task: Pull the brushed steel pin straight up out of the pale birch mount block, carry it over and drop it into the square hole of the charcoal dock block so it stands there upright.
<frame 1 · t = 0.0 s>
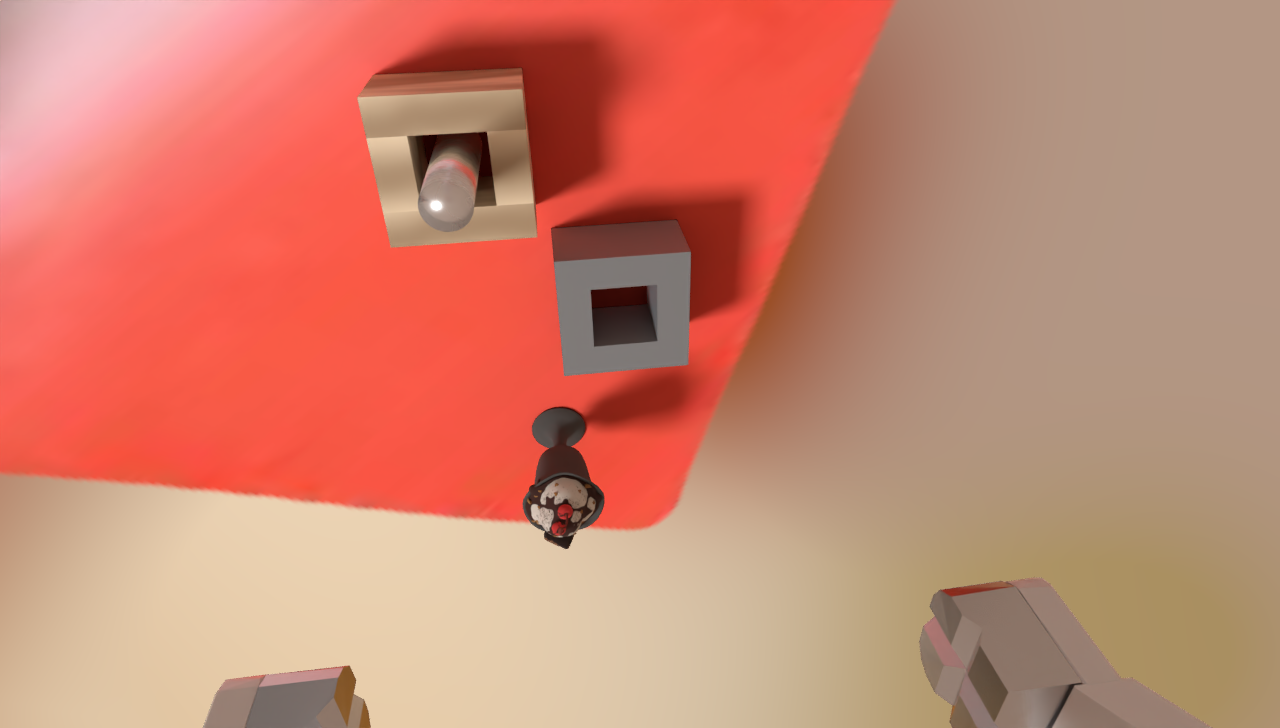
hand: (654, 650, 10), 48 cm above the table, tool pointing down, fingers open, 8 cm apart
mount block: (459, 143, 53), on the table
sundae: (558, 426, 69), on the table
dock block: (616, 280, 61), on the table
pin: (453, 172, 48), in the mount block
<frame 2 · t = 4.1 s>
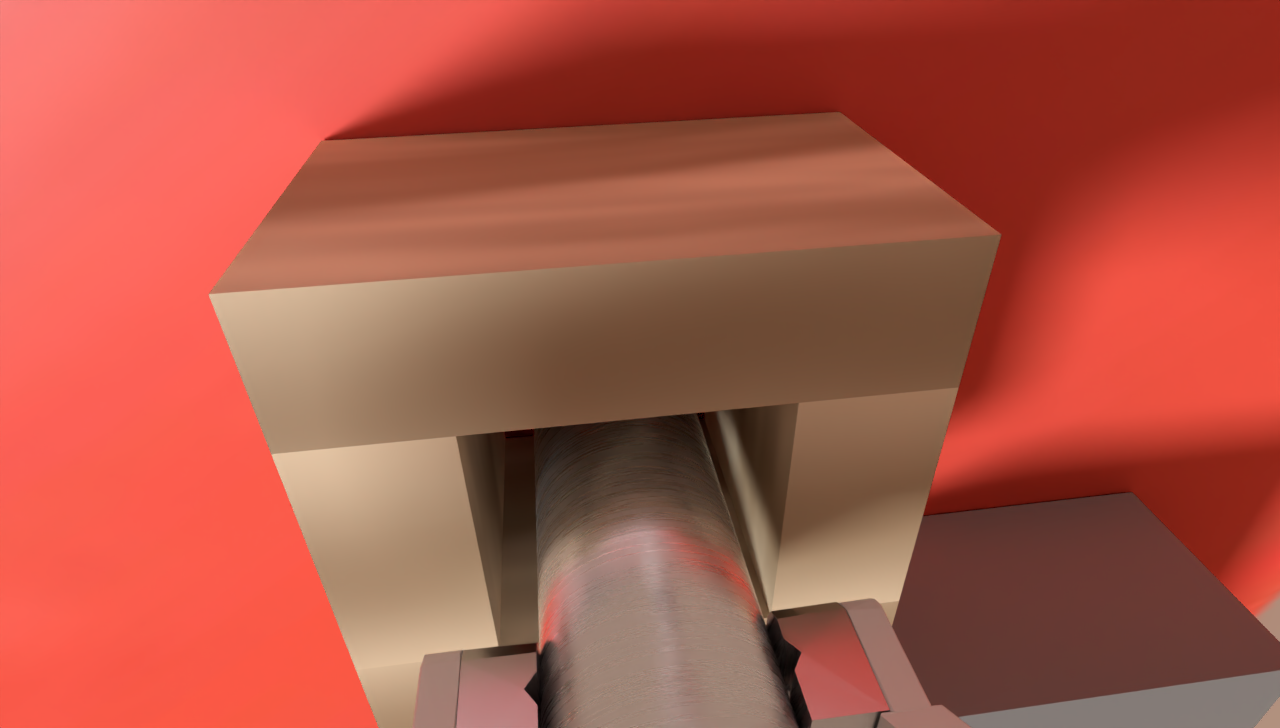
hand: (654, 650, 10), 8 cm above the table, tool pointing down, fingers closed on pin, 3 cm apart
mount block: (601, 344, 17), on the table
dock block: (942, 615, 25), on the table
pin: (634, 539, 12), in the mount block, touching gripper
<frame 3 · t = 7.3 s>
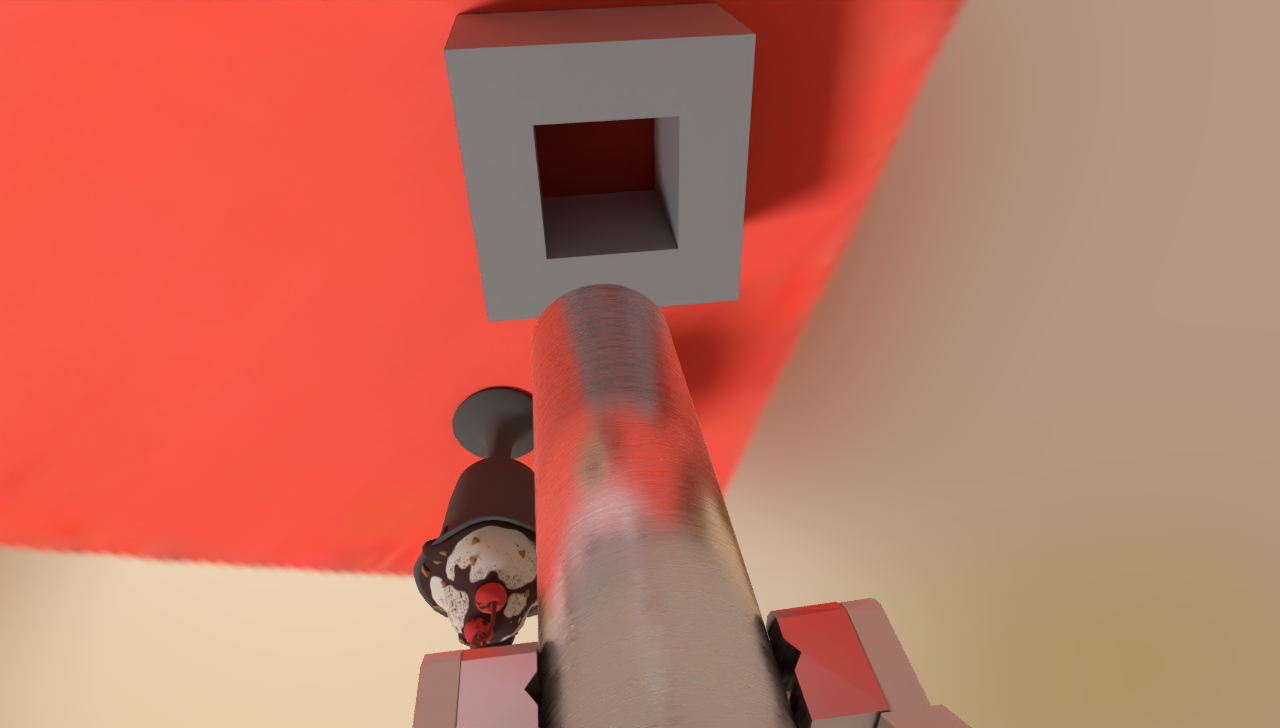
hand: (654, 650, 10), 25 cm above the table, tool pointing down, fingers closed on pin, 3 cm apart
sundae: (499, 421, 39), on the table
dock block: (595, 137, 31), on the table
pin: (634, 540, 12), point 23 cm above the table, touching gripper
when the fingers open (10 cm above the table, at t = 10.9 s): pin drops 2 cm, resting in dock block.
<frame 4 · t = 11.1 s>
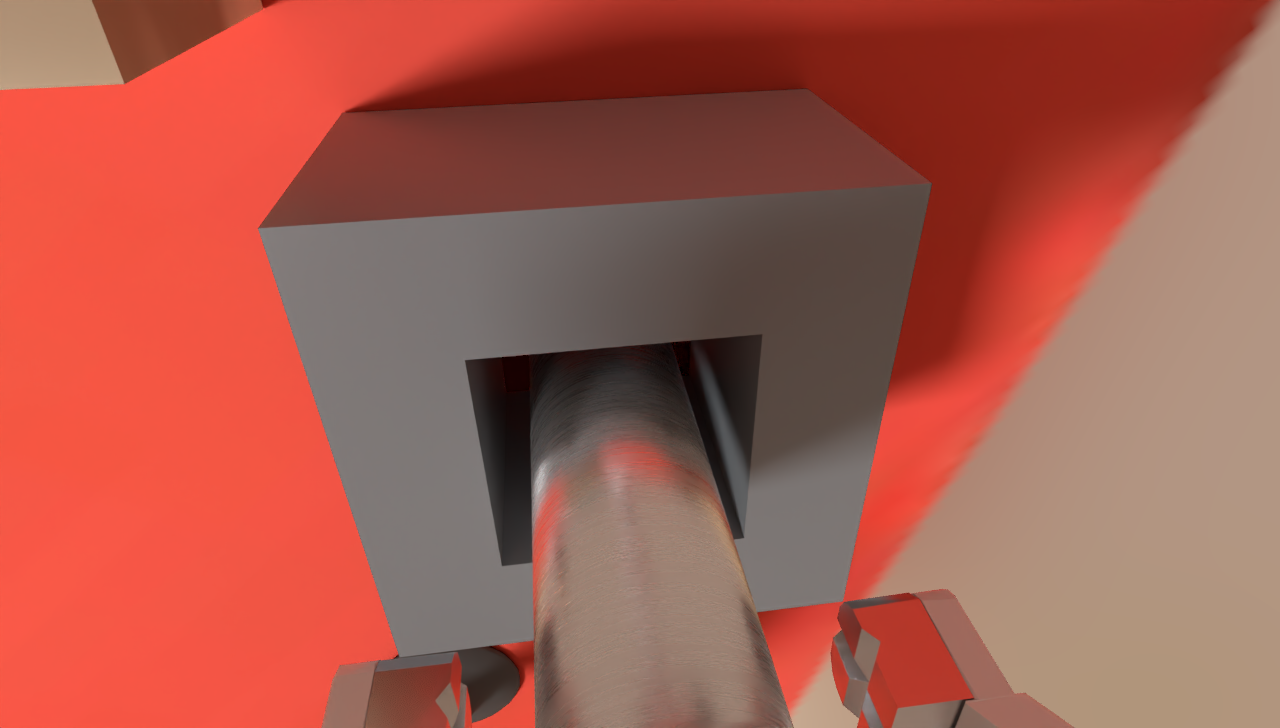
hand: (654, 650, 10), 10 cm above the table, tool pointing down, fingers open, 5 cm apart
sundae: (449, 676, 27), on the table
dock block: (594, 303, 19), on the table
pin: (617, 459, 14), in the dock block
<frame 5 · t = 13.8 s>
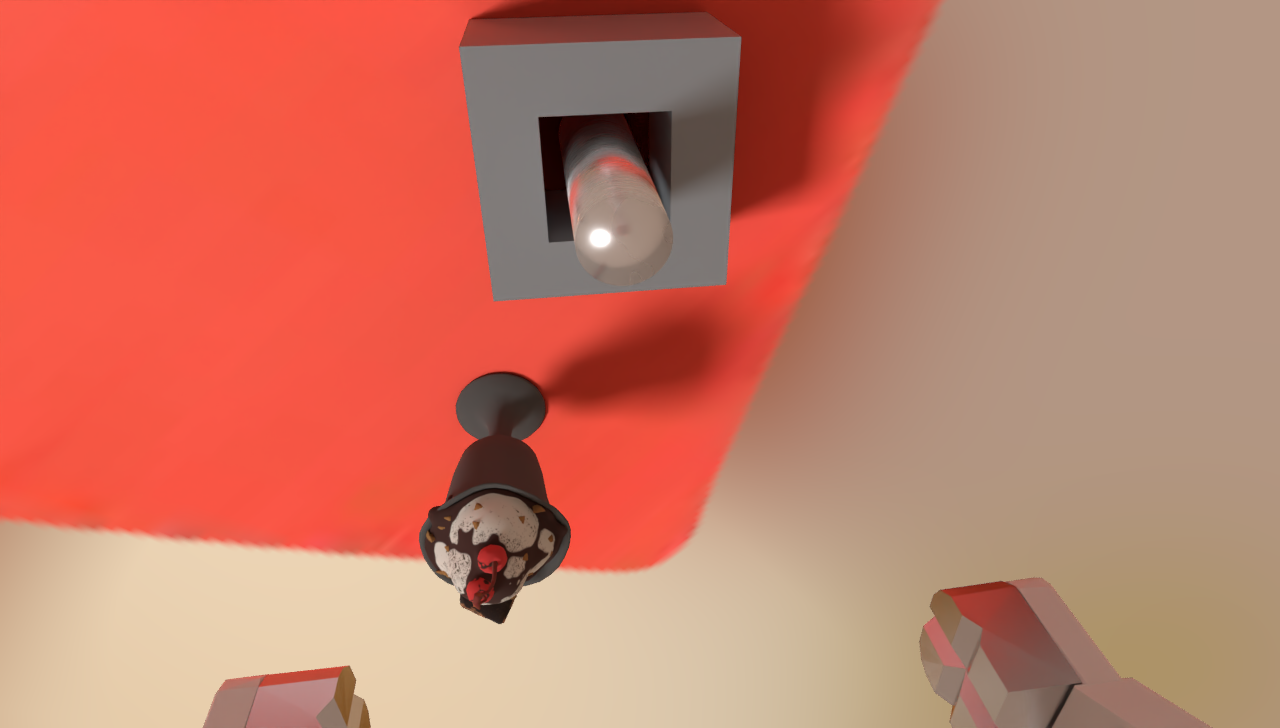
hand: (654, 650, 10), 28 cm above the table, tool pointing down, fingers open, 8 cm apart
sundae: (500, 406, 41), on the table
dock block: (595, 134, 34), on the table
pin: (606, 178, 29), in the dock block
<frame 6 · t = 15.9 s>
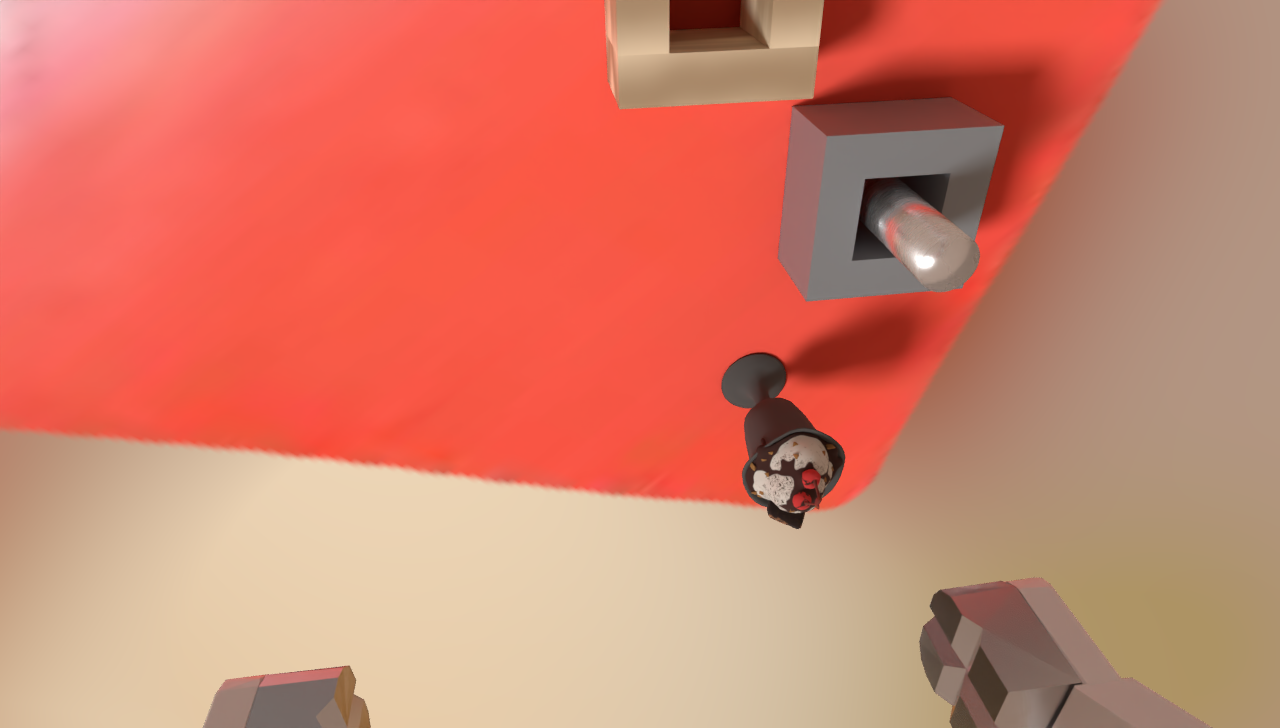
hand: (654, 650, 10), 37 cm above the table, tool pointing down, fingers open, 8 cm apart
sundae: (752, 378, 55), on the table
dock block: (860, 181, 47), on the table
pin: (898, 217, 42), in the dock block
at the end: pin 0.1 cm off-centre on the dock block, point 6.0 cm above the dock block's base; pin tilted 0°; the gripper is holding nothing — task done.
